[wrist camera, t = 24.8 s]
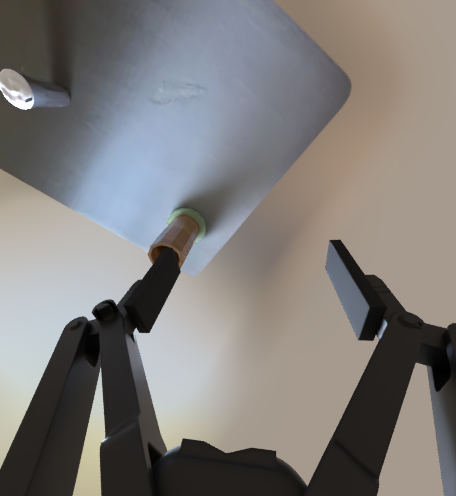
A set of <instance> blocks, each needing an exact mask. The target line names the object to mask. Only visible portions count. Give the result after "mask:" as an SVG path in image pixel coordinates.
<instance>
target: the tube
mask: <svg viewBox="0 0 456 496" xmlns="http://www.w3.org/2000/svg"><path fill="white" fill-rule="evenodd" d="M199 232H200V229H199V225H198V223H197V222H196V221H195V220H194V219H193V218H192V217H191V216H186V215H180V216H178V217H175V218H174V219H173V220H172V221H171V223H170V224H169V225H168V226H167V227H166V228H165V230H164V231H163V232H162V233H161V234H160V235H159V237H158V238H157V239H156V240H155V241H154V242H153V244H152V245H151V246H150V249H149V252H148V256H149V258H150V261H151V262H152V264H154V262H155V261H156V260H157V258H158V257H159V256H160V254H161V253H162V251H163V250H164V249H165V248H169V247H171V248H173V250H174V253H175V256H176V259H177V262H178V265H179V268H181V266H182V265H183V263H184V261H185V259H186V257H187V255H188V253H189V251H190V249H191V247H192V245H193V244H194V242H195V240H196V238H197V236H198V234H199Z"/></svg>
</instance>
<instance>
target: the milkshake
mask: <svg viewBox="0 0 456 496" xmlns="http://www.w3.org/2000/svg"><path fill="white" fill-rule="evenodd" d="M0 89H1V91H2V93H3V95H4V96H5V97H6V99H7V100H8V101H9V102H11V103H12V104H13V105H15V106H17V107H18V108H21V109H32V108H43V107H65V106H69V104H70V102H71V99H70V94H69V93H68V91H67V90H66V88H65V87H63V86H61V85H60V84H57V83H54V82H50V81H47V80H43V79H40V78H36V77H33V76H29V75H26V74H23V73H20V72H17V71H14V70H11V69H3V70H2V71H1V72H0Z"/></svg>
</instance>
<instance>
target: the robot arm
mask: <svg viewBox="0 0 456 496" xmlns="http://www.w3.org/2000/svg"><path fill="white" fill-rule="evenodd" d="M325 268H326V271H327V273H328V275H329V277H330V279H331V282H332V284H333V286H334V288H335V290H336V292H337V295H338V297H339V299H340V301H341V303H342V305H343V308H344V310H345V312H346V314H347V317H348V319H349V321H350V323H351V325H352V327H353V330H354V332H355V334H356V336H357V338H358V340H367V341H373V340H374V338H375V335H377V337H378V339H379V342H378V344H377V346H376V348H375V350H374V352H373V354H372V356H371V358H370V360H369V362H368V365H367V367H366V369H365V371H364V373H363V375H362V377H361V379H360V381H359V383H358V385H357V387H356V389H355V391H354V393H353V395H352V397H351V399H350V401H349V404H348V406H347V408H346V410H345V412H344V414H343V416H342V418H341V420H340V422H339V424H338V426H337V428H336V430H335V432H334V434H333V436H332V438H331V440H330V442H329V444H328V446H327V448H326V450H325V452H324V454H323V456H322V458H321V460H320V462H319V464H318V466H317V468H316V470H315V472H314V474H313V477H312V479H311V480H310V483H309V485H308V487H307V485H306V484H305V482H304V481H303V480H302V478H301V477H300V476H299V475H298V473H297V472H296V471H295V470H294V469H293V468H292V467H291V466H289V465H288V464H287V463H285V462H284V461H283V460H281V459H279V458H277V457H276V451H272V450H265V449H257V448H249V449H244V450H240V451H235V452H231V453H224V452H223V451H221V450H219V449H217V448H215V447H213V446H211V445H210V444H208V443H206V442H204V441H198V440H191V439H182V443H181V445H180V446H177V447H175V448H173V449H171V450H169V451H168V452H167V449H166V446H165V444H164V442H163V439H162V437H161V434H160V430H159V426H158V422H157V419H156V415H155V411H154V407H153V404H152V399H151V395H150V391H149V388H148V384H147V380H146V376H145V372H144V368H143V364H142V360H141V356H140V353H139V349H138V345H137V341H136V337H135V335H134V333H133V332H134V330H135V328H137V330H138V331H139V333H150V331H151V329H152V327H153V325H154V323H155V321H156V319H157V317H158V315H159V313H160V311H161V309H162V307H163V305H164V303H165V301H166V299H167V297H168V295H169V294H170V292H171V290H172V288H173V286H174V284H175V282H176V280H177V278H178V276H179V274H180V272H181V271H180V268H179V265H178V262H177V259H176V256H175V253H174V250H173V248H165V249H164V250H163V251H162V253H161V254H160V256H159V257H158V258H157V260H156V261H155V262H154V264H153V265H152V267H151V268H150V269H149V271H148V272H147V273H146V275H145V276H144V278H143V279H142V280H138V281H137V282H135V283H134V284H133V285H132V286H131V288H130V289H129V291H127V293H126V294H125V295H124V297H123V298H122V299H121V301H120V302H119V303H118V304H117V305H116V304H115V302H114V301H113V300H105V301H103V302H101V303H99V304H98V305H96V306H95V307H94V309H93V311H92V313H93V315H94V316H95V318H96V319H94V320H91V321H88V319H87V318H86V317H83V316H82V317H78V318H76V319H74V320H72V321H71V322H69V323H68V324H67V325H66V326H65V328H64V330H63V332H62V334H61V336H60V339H59V341H58V343H57V345H56V347H55V350H54V352H53V354H52V356H51V358H50V361H49V363H48V365H47V367H46V369H45V372H44V374H43V376H42V378H41V381H40V383H39V385H38V387H37V389H36V392H35V394H34V396H33V398H32V401H31V403H30V405H29V407H28V409H27V411H26V414H25V416H24V418H23V420H22V423H21V425H20V427H19V429H18V431H17V433H16V436H15V438H14V440H13V442H12V444H11V447H10V449H9V451H8V453H7V456H6V458H5V460H4V462H3V465H2V467H1V469H0V496H72V495H73V491H74V487H75V482H76V478H77V473H78V469H79V464H80V459H81V455H82V450H83V445H84V441H85V436H86V432H87V427H88V423H89V418H90V413H91V409H92V404H93V400H94V395H95V390H96V385H97V381H98V376H99V372H100V368H101V372H102V387H103V403H104V417H105V433H106V434H105V440H104V441H103V442H102V443H101V446H100V471H101V495H102V496H377V493H378V488H379V475H380V472H381V469H382V466H383V463H384V460H385V457H386V453H387V450H388V447H389V444H390V441H391V437H392V434H393V432H394V428H395V425H396V422H397V419H398V416H399V413H400V409H401V406H402V403H403V400H404V397H405V394H406V391H407V388H408V385H409V381H410V378H411V375H412V372H413V369H414V366H415V363H416V362H417V363H420V364H423V365H427V371H428V379H429V386H430V394H431V401H432V409H433V416H434V424H435V430H436V439H437V447H438V454H439V462H440V469H441V476H442V484H443V492H444V496H456V323H452V324H451V325H449V326H448V327H447V328H442V327H438V326H434V325H430V324H426V323H424V322H423V320H422V319H420V318H419V317H418V316H416V315H414V314H412V313H409V312H407V311H406V310H405V309H404V308H403V306H402V305H401V304H400V303H399V301H398V300H397V299H396V298H395V296H394V295H393V294H392V293H391V291H390V290H389V288H387V286H386V285H385V284H384V282H383V281H382V280H381V279H380V278H378V277H377V276H375V275H364V273H363V272H362V270H361V269H360V267H359V266H358V264H357V263H356V262H355V260H354V259H353V257H352V256H351V254H350V253H349V251H348V250H347V249H346V247H345V246H344V244H343V243H342V241H341V240H330V241H329V248H328V254H327V261H326V267H325Z"/></svg>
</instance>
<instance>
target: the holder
mask: <svg viewBox="0 0 456 496" xmlns="http://www.w3.org/2000/svg"><path fill="white" fill-rule="evenodd" d="M180 215H186V216H191V217H192V218H193V219H194V220H195V221H196V222H197V223H198V225H199V229H200V232H199V234H198V236H197V238H196V240H195V242H194V244H195V243H197V242H199V241H200V240H201V239H202V238H203V237H204V234H205V232H206V224H205V221H204V219H203V217H202V216H201V215H200V214H199V213H198V212H197V211H195V210H193V209H190V208H179V209H176V210H175V211H173V212H172V213H171V214H170V216H169V218H168V220H167V226H168V225H169V224H170V223H171V221H172V220H173V219H174V218H175V217H178V216H180ZM169 248H171V247H169Z"/></svg>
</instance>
